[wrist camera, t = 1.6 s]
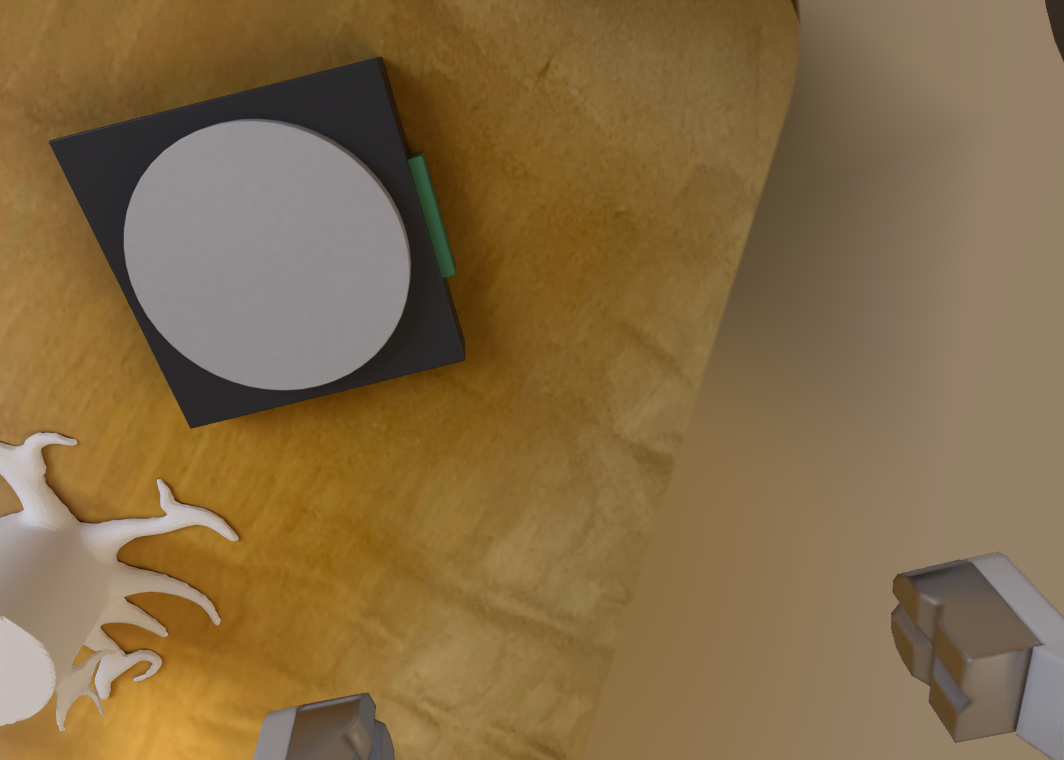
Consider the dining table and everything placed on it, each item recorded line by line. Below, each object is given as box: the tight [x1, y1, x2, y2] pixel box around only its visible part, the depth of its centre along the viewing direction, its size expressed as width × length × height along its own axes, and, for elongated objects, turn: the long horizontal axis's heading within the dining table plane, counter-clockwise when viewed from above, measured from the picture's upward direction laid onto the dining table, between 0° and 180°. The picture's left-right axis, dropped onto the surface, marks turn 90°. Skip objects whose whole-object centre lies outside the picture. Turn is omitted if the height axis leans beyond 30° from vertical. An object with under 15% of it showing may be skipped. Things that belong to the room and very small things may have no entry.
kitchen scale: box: [49, 57, 465, 428], centre depth 36 cm, size 16×15×4 cm
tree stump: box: [0, 432, 239, 732], centre depth 41 cm, size 20×19×8 cm
